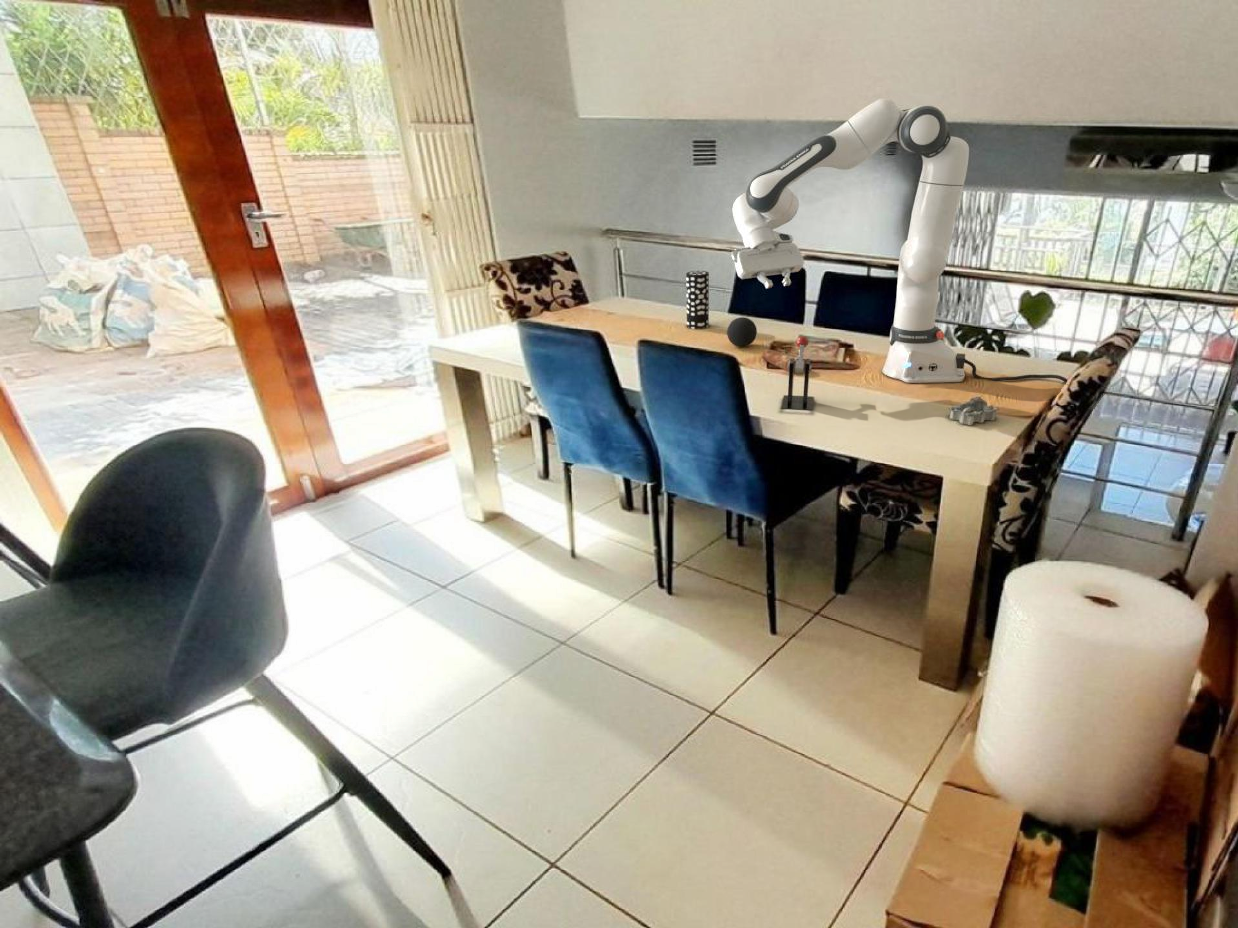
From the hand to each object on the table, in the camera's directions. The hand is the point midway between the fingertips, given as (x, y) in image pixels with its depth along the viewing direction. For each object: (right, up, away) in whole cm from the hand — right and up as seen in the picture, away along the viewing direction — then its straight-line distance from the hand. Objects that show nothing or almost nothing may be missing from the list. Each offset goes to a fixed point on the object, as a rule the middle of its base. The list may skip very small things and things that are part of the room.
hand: (778, 286), depth 197 cm
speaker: (-2, -9, +46) cm, 47 cm away
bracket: (+4, -34, -7) cm, 35 cm away
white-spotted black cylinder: (-15, +3, +73) cm, 74 cm away
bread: (+6, -20, +23) cm, 31 cm away
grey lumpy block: (+44, -39, -20) cm, 62 cm away
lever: (+4, -22, -7) cm, 23 cm away
